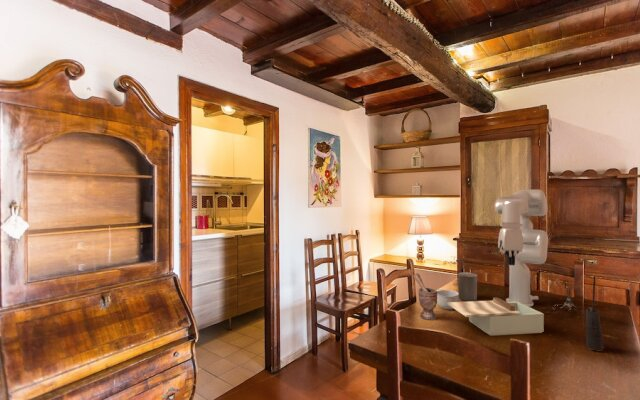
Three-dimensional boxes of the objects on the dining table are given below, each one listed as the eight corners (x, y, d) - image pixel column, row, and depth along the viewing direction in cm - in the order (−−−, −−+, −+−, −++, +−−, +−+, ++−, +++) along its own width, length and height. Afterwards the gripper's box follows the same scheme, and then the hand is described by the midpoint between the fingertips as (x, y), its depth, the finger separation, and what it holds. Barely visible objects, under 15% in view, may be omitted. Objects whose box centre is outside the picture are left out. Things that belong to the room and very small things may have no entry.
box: (517, 318, 158) (517, 301, 158) (543, 332, 142) (543, 313, 142) (469, 320, 156) (469, 303, 155) (490, 335, 140) (490, 316, 139)
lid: (496, 301, 157) (496, 296, 157) (520, 314, 141) (520, 307, 141) (447, 304, 154) (447, 298, 154) (466, 316, 138) (466, 310, 138)
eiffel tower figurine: (585, 308, 172) (585, 282, 172) (590, 315, 163) (590, 287, 163) (550, 304, 179) (550, 279, 179) (553, 310, 170) (553, 284, 170)
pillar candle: (459, 300, 185) (459, 273, 185) (457, 295, 194) (457, 269, 194) (478, 302, 182) (478, 274, 182) (475, 296, 191) (475, 270, 191)
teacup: (462, 311, 168) (462, 295, 168) (440, 311, 168) (440, 295, 168) (451, 302, 182) (451, 287, 182) (431, 302, 182) (431, 287, 182)
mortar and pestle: (410, 317, 161) (410, 275, 160) (415, 311, 168) (414, 271, 168) (435, 321, 155) (435, 278, 154) (439, 315, 162) (439, 274, 162)
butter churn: (577, 340, 135) (578, 270, 134) (609, 347, 129) (610, 274, 128) (577, 348, 128) (577, 275, 127) (610, 356, 122) (610, 279, 121)
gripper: (520, 225, 163) (520, 262, 164) (491, 225, 162) (491, 263, 162) (531, 226, 156) (531, 266, 156) (501, 227, 154) (501, 267, 155)
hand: (510, 264), depth 159 cm, fingers closed
